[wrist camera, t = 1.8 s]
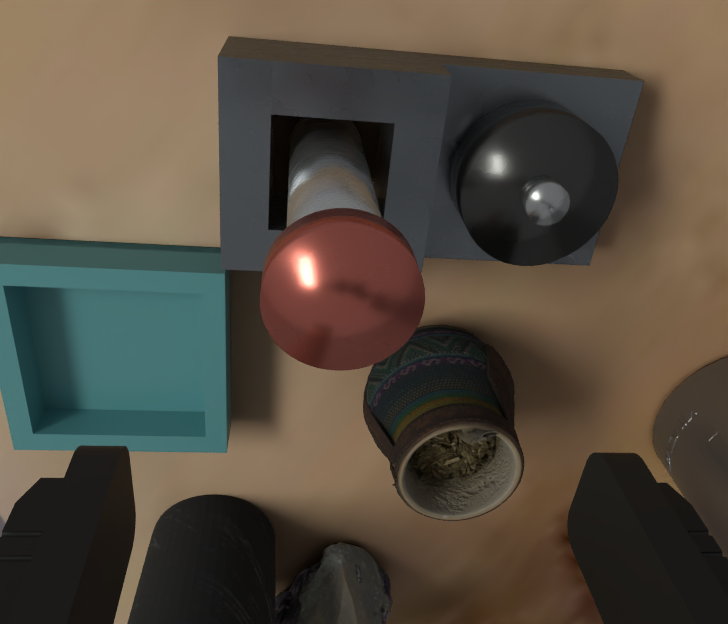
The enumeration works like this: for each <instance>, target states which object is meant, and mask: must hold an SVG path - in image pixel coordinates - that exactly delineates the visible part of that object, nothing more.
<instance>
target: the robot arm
mask: <svg viewBox="0 0 728 624" xmlns="http://www.w3.org/2000/svg"><path fill="white" fill-rule="evenodd" d="M653 445H654V448H655V452H656V454H657V456H658V457H659V459H660V460H661V462H662V464H663V465H664V467H665V468H666V470H667V471H668V473H669V474H670V476H671V477H672V479H673V481H674V482H675V484H676V485H677V487H678V488H679V490H680V491H681V493H682V494H683V496H684V498H683V497H682V496H681V495H680V494H679V493H678V492H676V491H675V490H674V489H673V488H672V487H671V486H670V485H668V484H667V483H657V482H656V480H655V479H654V477H653V475H652V474H651V472H650V471H649V469H648V467H647V466H646V464H645V462H644V461H643V460H642V458H641V457H640V456H639V455H637V454H635V453H593V454H591V455H590V456H589V458H588V460H587V462H586V465H585V468H584V470H583V473H582V476H581V479H580V482H579V484H578V487H577V490H576V493H575V496H574V499H573V501H572V504H571V507H570V510H569V514H568V536H569V541H570V545H571V547H572V550H573V552H574V555H575V557H576V559H577V562H578V564H579V566H580V569H581V571H582V573H583V576H584V578H585V580H586V583H587V585H588V587H589V590H590V592H591V594H592V597H593V599H594V601H595V604H596V606H597V608H598V611H599V613H600V615H601V618H602V620H603V622H604V624H728V357H727V358H724V359H721V360H718V361H716V362H714V363H712V364H710V365H708V366H706V367H704V368H702V369H701V370H699V371H697V372H696V373H694V374H693V375H691V376H690V377H688V378H687V379H686V380H685V381H684V382H683V383H682V384H680V385H679V386H678V387H677V388H676V389H675V390H674V391H673V392H672V393H671V395H670V396H669V397H668V398H667V400H666V401H665V402H664V403H663V405H662V407H661V409H660V411H659V413H658V415H657V416H656V420H655V424H654V427H653ZM135 521H136V513H135V502H134V493H133V484H132V475H131V466H130V457H129V451H128V448H127V447H126V446H85V445H80V446H78V447H77V449H76V450H75V452H74V454H73V457H72V459H71V462H70V464H69V467H68V469H67V472H66V474H65V477H64V478H40V479H39V480H38V481H37V482H36V483H35V484H34V485H33V486H32V487H31V488H30V489H29V490H28V491H27V492H26V493H25V494H24V495H23V496H22V497H21V498H20V499H19V500H18V501H17V502H16V503H15V505H14V507H13V509H12V511H11V514H10V516H9V518H8V520H7V522H6V524H5V526H4V529H3V531H2V537H0V624H113V623H114V619H115V615H116V611H117V607H118V603H119V599H120V595H121V591H122V587H123V583H124V579H125V575H126V571H127V567H128V563H129V559H130V555H131V551H132V547H133V542H134V534H135Z"/></svg>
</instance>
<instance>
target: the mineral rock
mask: <svg viewBox="0 0 728 624" xmlns="http://www.w3.org/2000/svg"><path fill="white" fill-rule="evenodd" d="M391 605H392V599H391V596H390V579H389V577H388V575H387V574H386V573H385V572H384V571H383V570H382V569H380V568H379V567H378V565H377V564H376V562H375V560H374V559H373V558H372V556H371V555H370V554H369V553H368V552H367V551H366V550H364V549H363V548H360V547H357V546H353V545H349V544H345V543H340V542H339V543H338V544H335V545H330V546H328V547H327V548H325V549H324V550H323V552H322V558H321V561H320V562H318V563H316V564H314V565H313V566H312V567H310V568H309V569H304V570H302V571H301V572H300V573H299V574H298V575H297V577H296V579H295V580H294V581H293V584H292V586H291V588H290V589H289V591H284V592H282V593H279V594H278V595H277V596H276V597H275V624H386V619H387V618H388V617H389V615H390V609H391Z"/></svg>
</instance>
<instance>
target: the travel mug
mask: <svg viewBox="0 0 728 624" xmlns="http://www.w3.org/2000/svg"><path fill="white" fill-rule="evenodd" d="M128 624H275V535H274V530H273V527H272V524H271V522H270V521H269V519H268V518H267V516H266V515H265V514H264V513H263V512H262V511H261V510H260V509H258V508H257V507H255V506H254V505H252V504H250V503H248V502H246V501H243V500H241V499H238V498H234V497H229V496H222V495H204V496H197V497H192V498H189V499H186V500H183V501H181V502H179V503H177V504H175V505H173V506H172V507H170V508H169V509H168V510H166V511H165V512H164V513H163V514H162V516H161V517H160V518H159V520H158V521H157V523H156V525H155V528H154V531H153V534H152V537H151V541H150V544H149V547H148V551H147V555H146V558H145V562H144V566H143V569H142V573H141V576H140V580H139V584H138V587H137V591H136V595H135V598H134V602H133V606H132V609H131V613H130V616H129V620H128Z"/></svg>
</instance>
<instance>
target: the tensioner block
mask: <svg viewBox="0 0 728 624" xmlns="http://www.w3.org/2000/svg"><path fill="white" fill-rule="evenodd" d="M643 83H644V81H643V80H641V79H639V78H637V77H635V76H633V75H631V74H629V73H627V72H625V71H623V70H612V69H600V68H589V67H577V66H566V65H554V64H543V63H531V62H520V61H508V60H496V59H485V58H473V57H462V56H450V55H439V54H427V53H416V52H404V51H392V50H381V49H369V48H358V47H346V46H335V45H323V44H312V43H300V42H289V41H277V40H265V39H254V38H242V37H231V36H228V38H227V40H226V42H225V44H224V46H223V48H222V49H221V51H220V53H219V55H218V102H219V170H220V238H221V269H224V270H246V271H263V266H264V262H265V258H266V256H267V253H268V251H269V249H270V247H271V246H272V244H273V242H274V241H275V240H276V238H277V237H278V236H279V235H280V234H281V233H282V232H283V231H284V230H285V229H286V228H287V206H288V193H280V192H272V164H273V127H274V115H285V116H299V117H312V118H326V119H340V120H353V121H367V122H380V130H379V139H378V149H377V158H376V167H375V177H374V186H373V187H374V191H375V194H376V198H377V202H378V206H379V210H380V213H381V217H382V218H383V219H385V220H387V221H388V222H389V223H391V224H392V225H393V226H395V227H396V228H397V229H398V230H399V231H400V232H401V233H402V234H403V236H404V237H405V238H406V239H407V241H408V242H409V244H410V246H411V248H412V250H413V252H414V255H415V258H416V261H417V264H418V267H419V270H420V273H421V272H422V266H423V259H424V257H429V258H449V259H469V260H489V261H502V262H505V263H509V264H513V265H520V266H534V265H542V264H546V263H549V264H569V265H590V262H591V258H592V255H593V252H594V248H595V245H596V241H597V238H598V235H599V231H600V228H601V227H602V225H603V224H604V222H605V221H606V219H607V217H608V215H609V213H610V211H611V209H612V207H613V204H614V201H615V198H616V194H617V188H618V167H619V164H620V160H621V157H622V154H623V150H624V147H625V144H626V140H627V137H628V134H629V130H630V127H631V123H632V120H633V117H634V113H635V110H636V107H637V103H638V100H639V96H640V93H641V90H642V86H643Z"/></svg>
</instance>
